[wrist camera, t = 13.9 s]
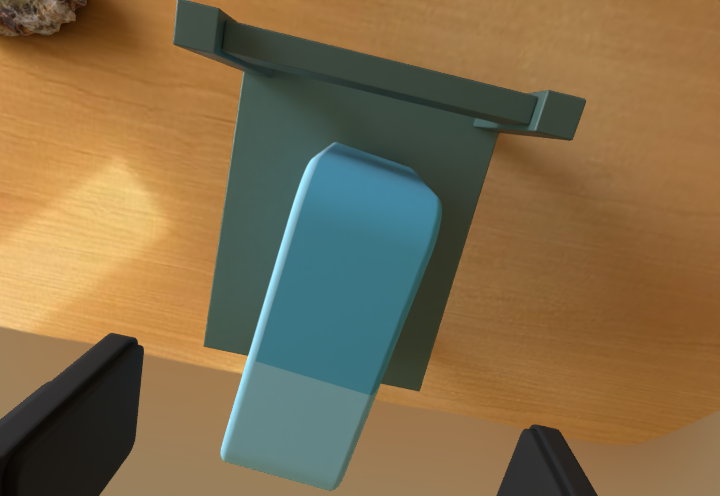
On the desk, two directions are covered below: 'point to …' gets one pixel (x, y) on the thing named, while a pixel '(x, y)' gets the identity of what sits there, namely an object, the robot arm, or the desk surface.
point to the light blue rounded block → (331, 315)
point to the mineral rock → (36, 16)
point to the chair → (357, 130)
